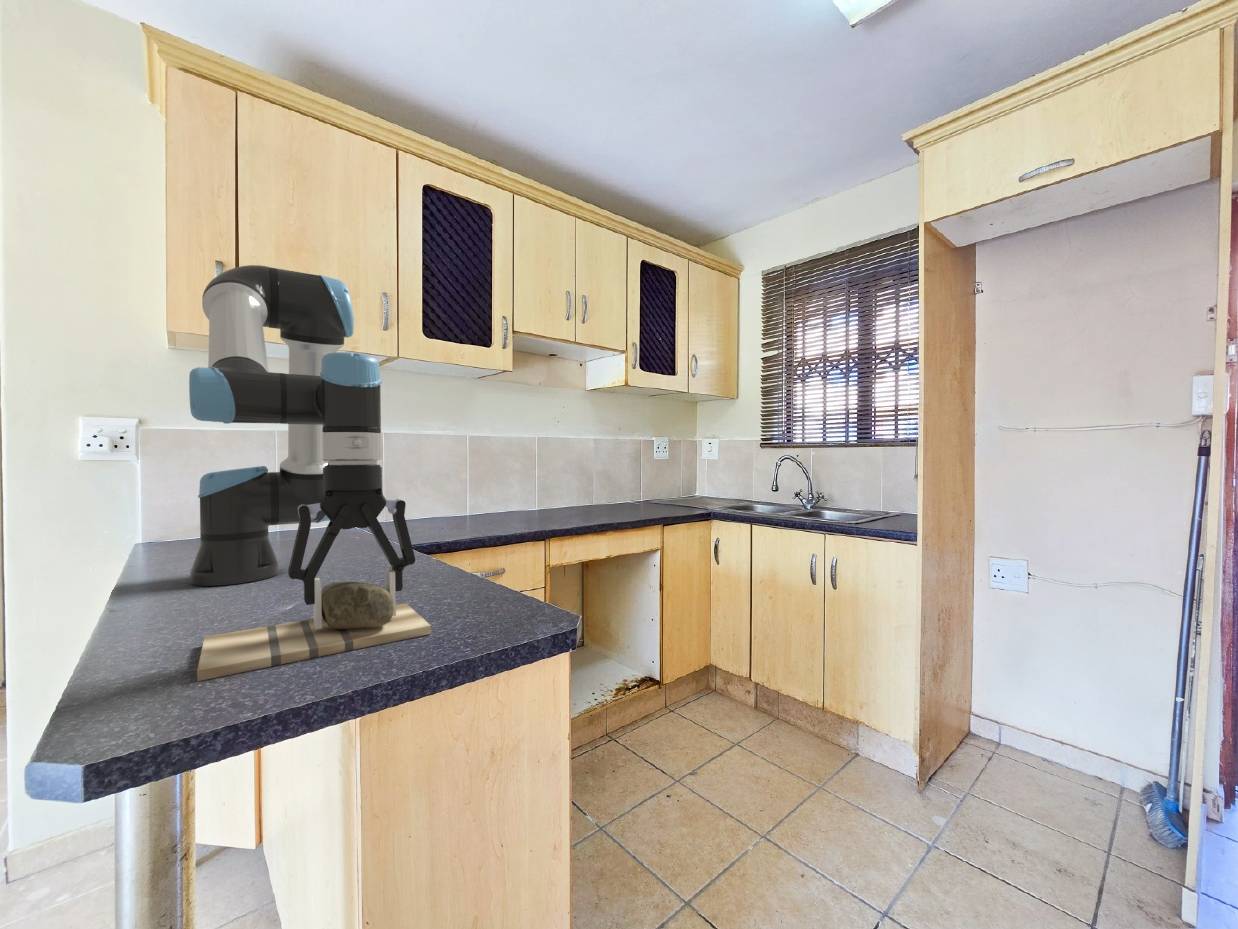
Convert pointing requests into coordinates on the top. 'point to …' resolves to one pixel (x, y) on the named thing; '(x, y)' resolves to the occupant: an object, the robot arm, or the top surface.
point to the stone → (356, 605)
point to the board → (298, 643)
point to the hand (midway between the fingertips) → (355, 619)
